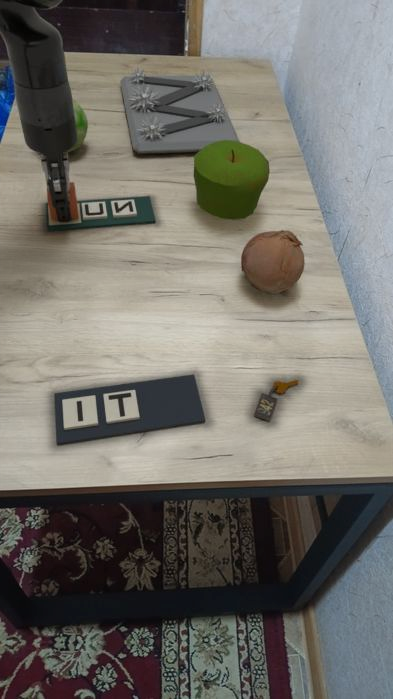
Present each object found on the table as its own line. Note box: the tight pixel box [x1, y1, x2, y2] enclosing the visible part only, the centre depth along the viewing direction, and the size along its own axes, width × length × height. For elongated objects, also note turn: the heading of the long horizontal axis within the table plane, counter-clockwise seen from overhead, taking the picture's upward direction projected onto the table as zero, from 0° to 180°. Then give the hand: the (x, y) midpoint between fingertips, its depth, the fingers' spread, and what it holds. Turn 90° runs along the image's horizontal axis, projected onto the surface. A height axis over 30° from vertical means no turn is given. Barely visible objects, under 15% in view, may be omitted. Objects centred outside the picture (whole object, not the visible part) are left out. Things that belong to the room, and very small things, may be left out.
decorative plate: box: [119, 65, 241, 155], centre depth 103 cm, size 30×22×7 cm
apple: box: [193, 140, 270, 221], centre depth 83 cm, size 12×12×11 cm
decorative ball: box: [67, 98, 89, 153], centre depth 92 cm, size 10×10×10 cm
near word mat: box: [53, 373, 206, 446], centre depth 61 cm, size 18×7×1 cm, turn 102°
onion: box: [240, 229, 306, 295], centre depth 73 cm, size 10×9×10 cm
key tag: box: [253, 379, 299, 422], centre depth 64 cm, size 8×3×1 cm, turn 144°
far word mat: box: [45, 195, 157, 232], centre depth 84 cm, size 18×7×1 cm, turn 102°
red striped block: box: [46, 181, 79, 220], centre depth 81 cm, size 4×4×4 cm
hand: (64, 210), depth 82 cm, fingers closed on red striped block, 4 cm apart
